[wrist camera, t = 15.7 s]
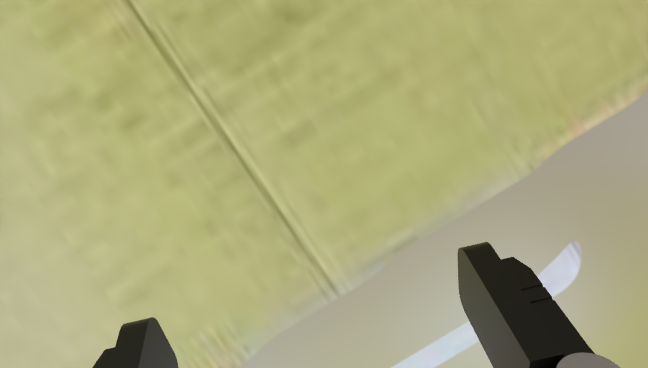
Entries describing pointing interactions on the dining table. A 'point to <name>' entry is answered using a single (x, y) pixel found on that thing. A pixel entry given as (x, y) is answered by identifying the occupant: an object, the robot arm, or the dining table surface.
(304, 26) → the dining table surface
